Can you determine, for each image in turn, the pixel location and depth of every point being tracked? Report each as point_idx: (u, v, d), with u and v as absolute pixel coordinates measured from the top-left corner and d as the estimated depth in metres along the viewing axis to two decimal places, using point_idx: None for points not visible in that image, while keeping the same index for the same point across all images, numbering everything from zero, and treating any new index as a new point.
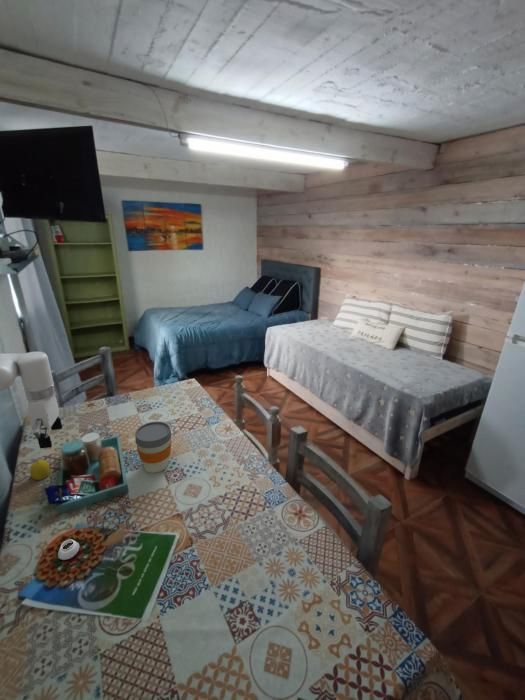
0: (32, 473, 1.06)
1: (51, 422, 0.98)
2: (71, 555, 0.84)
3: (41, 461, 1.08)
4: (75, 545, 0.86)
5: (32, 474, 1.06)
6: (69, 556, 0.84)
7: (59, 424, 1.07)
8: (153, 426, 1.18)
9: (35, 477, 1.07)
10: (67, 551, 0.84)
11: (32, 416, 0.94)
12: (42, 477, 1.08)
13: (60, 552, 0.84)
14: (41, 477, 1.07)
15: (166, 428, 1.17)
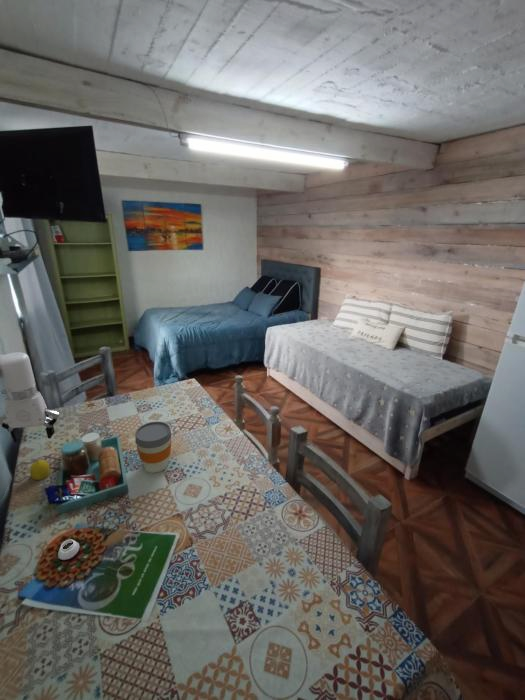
0: (32, 473, 1.06)
1: None
2: (71, 555, 0.84)
3: (41, 461, 1.08)
4: (75, 545, 0.86)
5: (32, 474, 1.06)
6: (69, 556, 0.84)
7: (19, 431, 1.03)
8: (153, 426, 1.18)
9: (35, 477, 1.07)
10: (67, 551, 0.84)
11: (42, 408, 1.00)
12: (42, 477, 1.08)
13: (60, 552, 0.84)
14: (41, 477, 1.07)
15: (166, 428, 1.17)
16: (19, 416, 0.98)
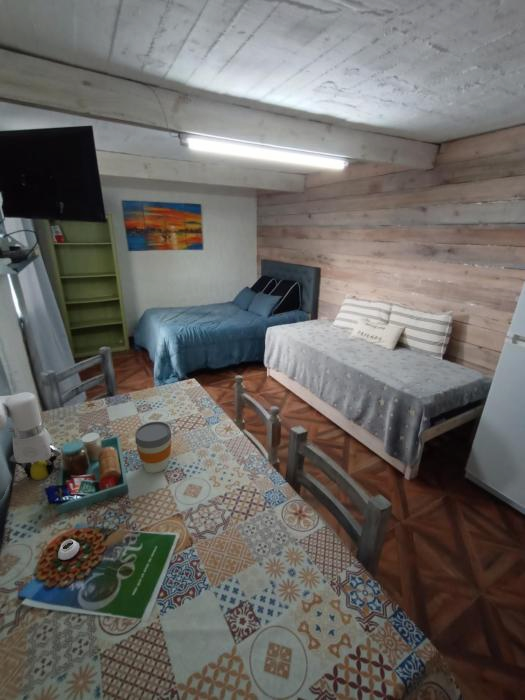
0: (32, 473, 1.06)
1: None
2: (71, 555, 0.84)
3: (41, 461, 1.08)
4: (75, 545, 0.86)
5: (32, 474, 1.06)
6: (69, 556, 0.84)
7: None
8: (153, 426, 1.18)
9: (35, 477, 1.07)
10: (67, 551, 0.84)
11: (48, 444, 1.05)
12: (42, 477, 1.08)
13: (60, 552, 0.84)
14: (41, 477, 1.07)
15: (166, 428, 1.17)
16: (26, 452, 1.03)
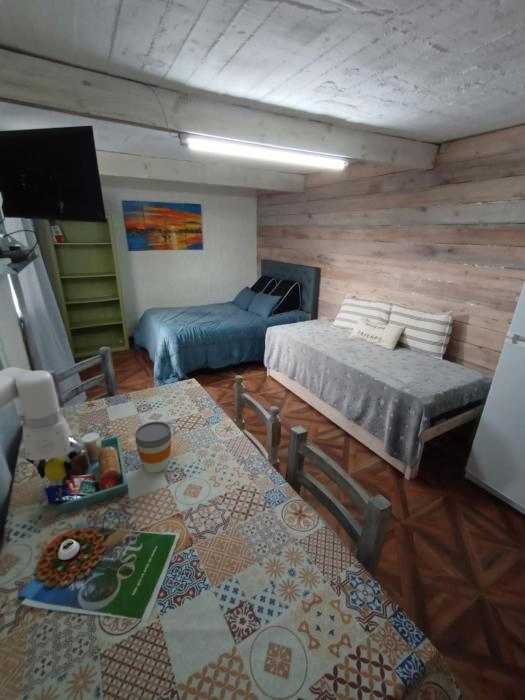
0: (47, 473, 0.85)
1: None
2: (71, 555, 0.84)
3: (58, 458, 0.87)
4: (75, 545, 0.86)
5: (47, 474, 0.85)
6: (69, 556, 0.84)
7: None
8: (153, 426, 1.18)
9: (50, 477, 0.85)
10: (67, 551, 0.84)
11: (67, 436, 0.84)
12: (59, 477, 0.86)
13: (60, 552, 0.84)
14: (58, 477, 0.86)
15: (166, 428, 1.17)
16: (40, 447, 0.81)
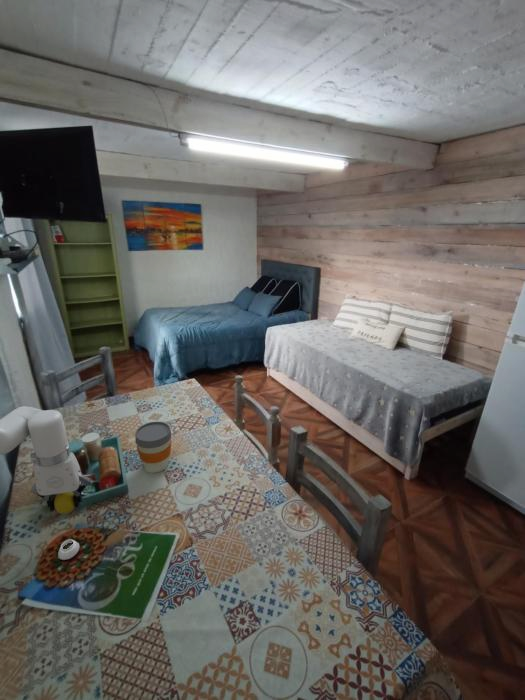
0: (57, 506, 0.88)
1: None
2: (71, 555, 0.84)
3: None
4: (75, 545, 0.86)
5: (56, 507, 0.88)
6: (69, 556, 0.84)
7: None
8: (153, 426, 1.18)
9: (60, 511, 0.89)
10: (67, 551, 0.84)
11: (76, 472, 0.87)
12: (68, 510, 0.90)
13: (60, 552, 0.84)
14: (67, 511, 0.89)
15: (166, 428, 1.17)
16: (50, 483, 0.85)
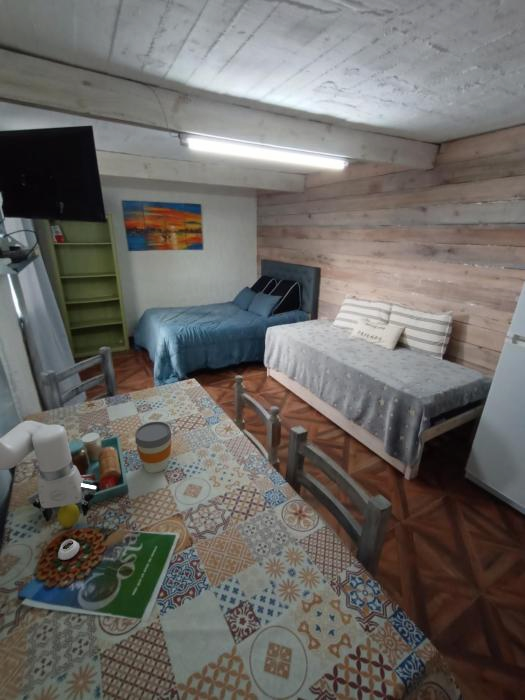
0: (60, 520, 0.90)
1: None
2: (71, 555, 0.84)
3: (70, 505, 0.92)
4: (75, 545, 0.86)
5: (60, 521, 0.90)
6: (69, 556, 0.84)
7: (51, 508, 0.92)
8: (153, 426, 1.18)
9: (63, 524, 0.90)
10: (67, 551, 0.84)
11: (78, 485, 0.88)
12: (71, 524, 0.91)
13: (60, 552, 0.84)
14: (70, 524, 0.91)
15: (166, 428, 1.17)
16: (53, 496, 0.86)
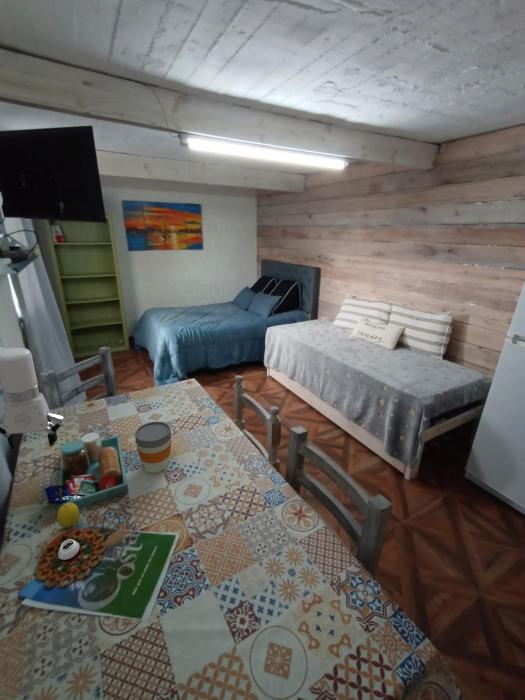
0: (60, 520, 0.90)
1: None
2: (71, 555, 0.84)
3: (70, 505, 0.92)
4: (75, 545, 0.86)
5: (60, 521, 0.90)
6: (69, 556, 0.84)
7: (17, 437, 0.91)
8: (153, 426, 1.18)
9: (63, 524, 0.90)
10: (67, 551, 0.84)
11: (44, 412, 0.88)
12: (71, 524, 0.91)
13: (60, 552, 0.84)
14: (70, 524, 0.91)
15: (166, 428, 1.17)
16: (18, 420, 0.86)
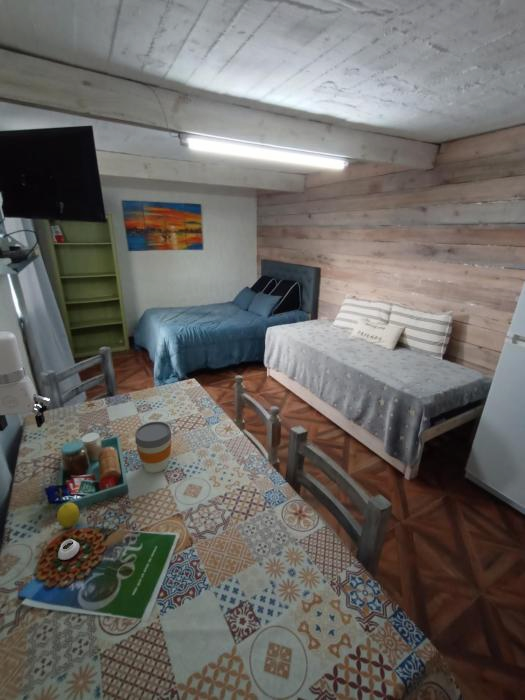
0: (60, 520, 0.90)
1: None
2: (71, 555, 0.84)
3: (70, 505, 0.92)
4: (75, 545, 0.86)
5: (60, 521, 0.90)
6: (69, 556, 0.84)
7: (5, 420, 0.94)
8: (153, 426, 1.18)
9: (63, 524, 0.90)
10: (67, 551, 0.84)
11: (30, 394, 0.91)
12: (71, 524, 0.91)
13: (60, 552, 0.84)
14: (70, 524, 0.91)
15: (166, 428, 1.17)
16: (5, 402, 0.89)
